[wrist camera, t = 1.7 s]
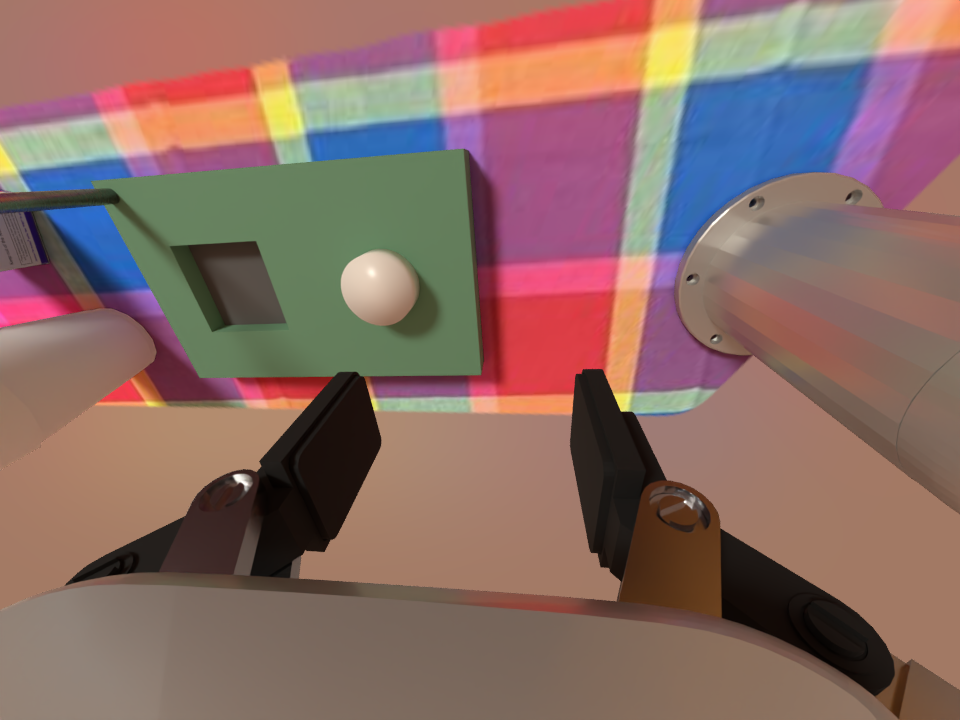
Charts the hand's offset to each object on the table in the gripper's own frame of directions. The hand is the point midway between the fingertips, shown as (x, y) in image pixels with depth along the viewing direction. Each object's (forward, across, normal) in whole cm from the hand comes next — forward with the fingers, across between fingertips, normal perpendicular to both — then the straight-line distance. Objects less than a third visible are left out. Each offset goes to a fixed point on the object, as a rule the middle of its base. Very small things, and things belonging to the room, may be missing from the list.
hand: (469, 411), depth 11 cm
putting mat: (+18, +16, 0) cm, 24 cm away
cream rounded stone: (+15, +8, 0) cm, 17 cm away
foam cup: (+18, +37, +5) cm, 41 cm away
